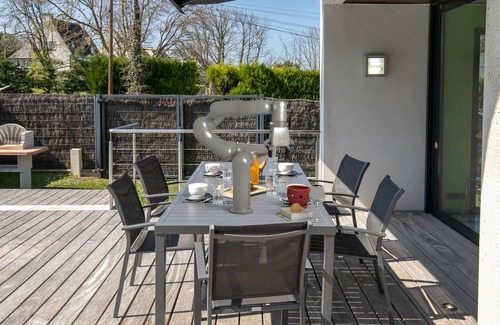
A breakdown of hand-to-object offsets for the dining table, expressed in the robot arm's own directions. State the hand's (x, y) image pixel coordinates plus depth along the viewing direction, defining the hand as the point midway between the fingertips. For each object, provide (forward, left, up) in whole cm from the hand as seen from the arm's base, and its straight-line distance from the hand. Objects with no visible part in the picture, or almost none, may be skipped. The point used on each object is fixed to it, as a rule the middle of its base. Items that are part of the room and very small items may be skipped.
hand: (278, 157), depth 257 cm
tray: (+7, +7, -30) cm, 32 cm away
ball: (+7, +7, -30) cm, 31 cm away
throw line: (+8, -1, -30) cm, 31 cm away
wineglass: (+21, +12, -31) cm, 39 cm away
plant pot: (-9, +17, -31) cm, 36 cm away
